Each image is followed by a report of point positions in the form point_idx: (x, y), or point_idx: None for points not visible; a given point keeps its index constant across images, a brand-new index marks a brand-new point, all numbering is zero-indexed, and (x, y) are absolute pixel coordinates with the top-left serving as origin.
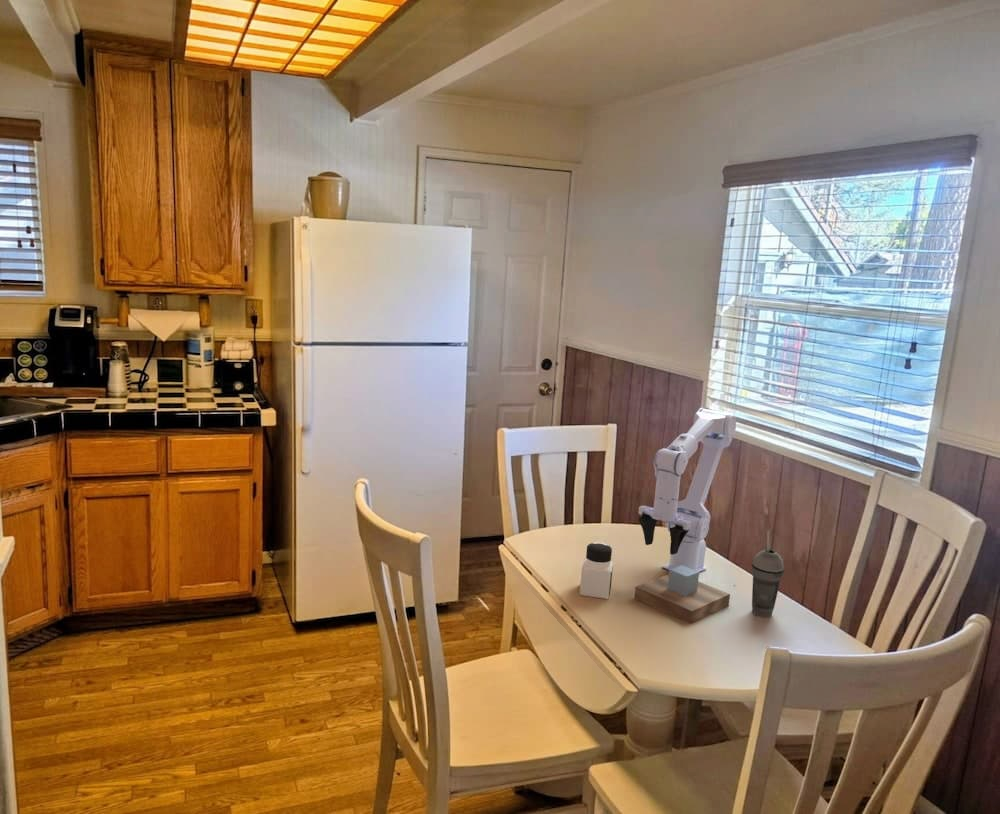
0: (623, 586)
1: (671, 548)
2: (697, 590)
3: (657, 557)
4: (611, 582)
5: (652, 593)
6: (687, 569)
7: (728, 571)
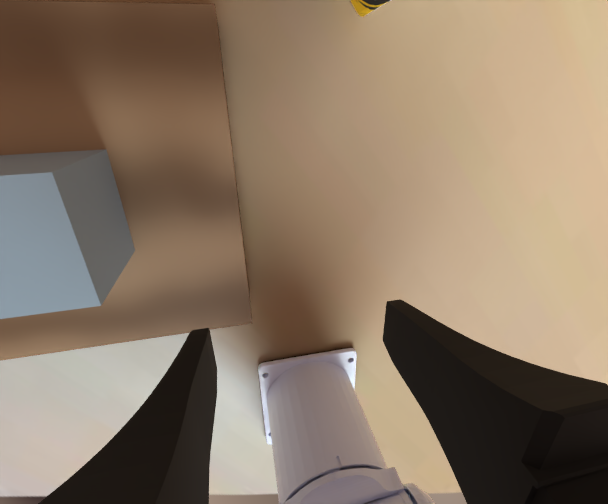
0: (335, 94)
1: (191, 352)
2: None
3: None
4: (366, 6)
5: (82, 7)
6: (12, 287)
7: (226, 476)
